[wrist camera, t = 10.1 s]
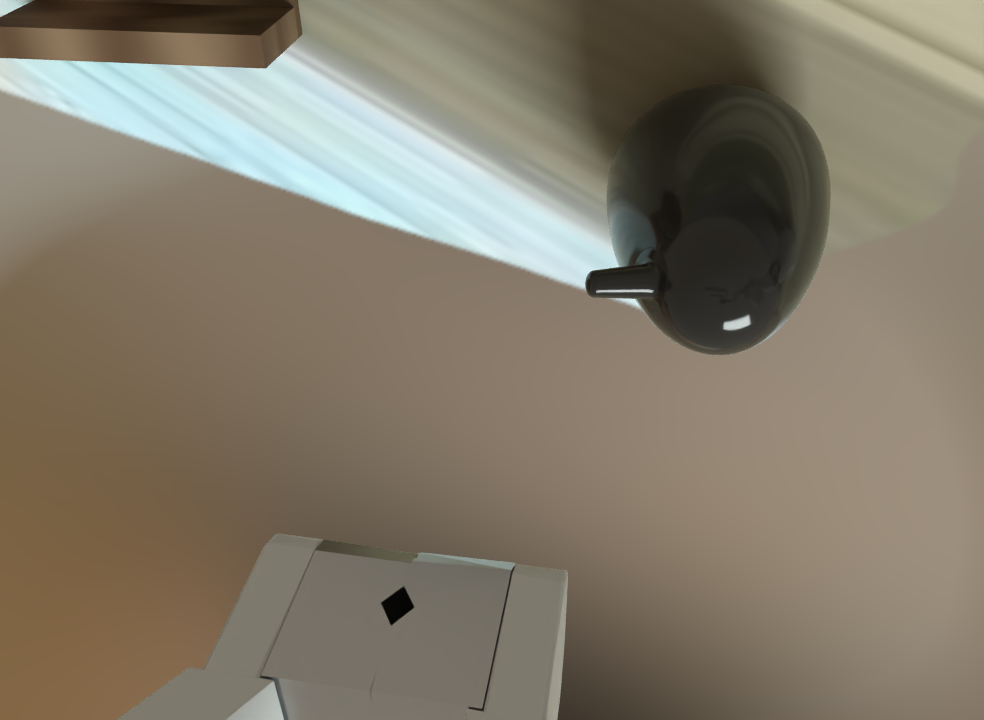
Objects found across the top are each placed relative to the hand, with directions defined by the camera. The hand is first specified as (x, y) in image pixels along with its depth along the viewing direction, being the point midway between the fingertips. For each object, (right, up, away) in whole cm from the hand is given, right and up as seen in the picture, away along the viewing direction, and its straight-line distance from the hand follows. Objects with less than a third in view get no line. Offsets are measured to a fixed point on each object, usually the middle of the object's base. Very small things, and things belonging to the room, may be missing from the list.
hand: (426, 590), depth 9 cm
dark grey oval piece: (+12, +13, +38) cm, 42 cm away
